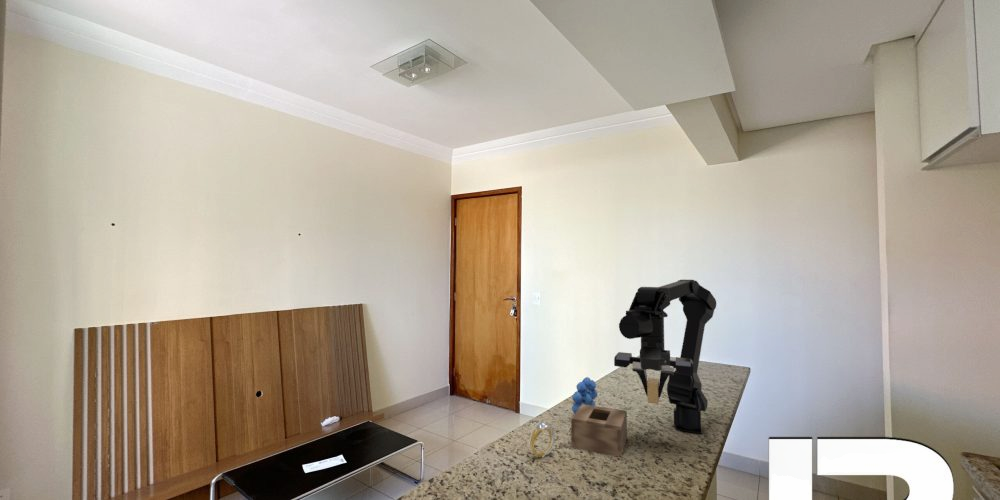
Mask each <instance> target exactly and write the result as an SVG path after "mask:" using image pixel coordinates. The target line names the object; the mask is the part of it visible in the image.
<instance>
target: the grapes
mask: <svg viewBox="0 0 1000 500" xmlns="http://www.w3.org/2000/svg"><path fill="white" fill-rule="evenodd" d="M596 387H597V384H596V382H595V380H592V379H591V378H590V377H589V376H587V377H584V378H583V379H582V381H580V382H578V383H577V385H576V387H575V388H576V391H575V392H574V393H573V395H572V396H571V397H572V401H573V402H574V403H573V404H572V406H571V410H572V413H573V415H574V414H575V413H576V412H577V410H578V409H579V407H580V406H581V405H582V404H585V405H592V406H596V403H595V399H597V397H598V392H597V390H596Z"/></svg>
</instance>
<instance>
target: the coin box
mask: <svg viewBox="0 0 1000 500" xmlns="http://www.w3.org/2000/svg"><path fill="white" fill-rule="evenodd" d="M627 412H628V411H627V410H625V409H617V408H610V407H606V406H605V407H604V406H597V405H595V406H592V405H585V404H582V405H581V406H580V407H579V409H578V410H577V412H576V413H575V414H574V413H573V416H572V417H571V419H570V420H571V422H570V427H571V428H570V431H571V433H570V434H571V435H570V438H571V444H570V445H571V448H574V449H578V450H584V451H588V452H589V451H590V452H594V453H600V454H605V455H610V456H615V457H620V458H621V457H622V455H623V452H624V449H625V446H626V442H627V438H628V413H627Z"/></svg>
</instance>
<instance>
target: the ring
mask: <svg viewBox="0 0 1000 500" xmlns="http://www.w3.org/2000/svg"><path fill="white" fill-rule="evenodd" d="M547 423H548V422H547V421H545V422H544V423H543V422H542V421H541V420H540V421H538V422H537V423H536V424H535V425H534V426H533V427H532V429H531V432H530V435H529V441H528V445H529V449H530V451H531V453H532V454H533V455H534V456H536V457H538V458H545V457H546V456H547V455H549V454H550V452H551V451H552V450H553V447H554V446H555V440H556V436H555V430H554V429H553V426H550V425H548V424H547ZM544 430H546V431H547V432H548V435H549V444H548V447H547V448H546V449H545V450H544V451H539V452H537V451H536V449H535V442H536V439H537V438H538V437H539V436H540V434H541V433H542V432H543V431H544Z"/></svg>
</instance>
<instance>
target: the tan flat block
mask: <svg viewBox="0 0 1000 500" xmlns="http://www.w3.org/2000/svg"><path fill="white" fill-rule="evenodd" d="M647 381H648V382H647V395H646V397H647V403H648V404H655V405H659V401H660V398H659V396H658V390H659V382H660V378H653V377H647Z"/></svg>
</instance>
